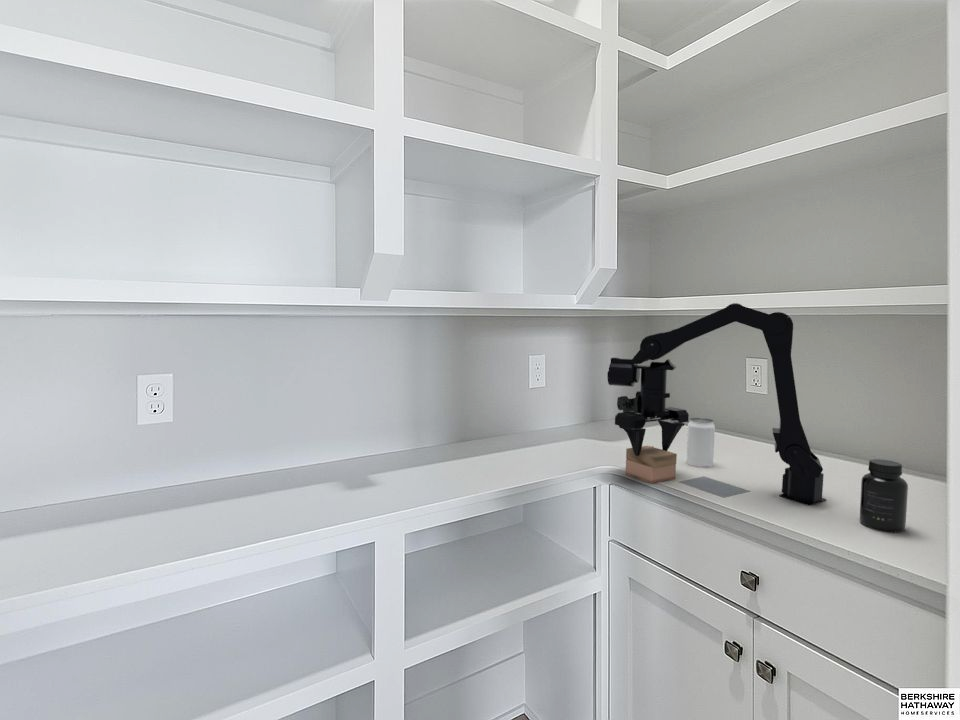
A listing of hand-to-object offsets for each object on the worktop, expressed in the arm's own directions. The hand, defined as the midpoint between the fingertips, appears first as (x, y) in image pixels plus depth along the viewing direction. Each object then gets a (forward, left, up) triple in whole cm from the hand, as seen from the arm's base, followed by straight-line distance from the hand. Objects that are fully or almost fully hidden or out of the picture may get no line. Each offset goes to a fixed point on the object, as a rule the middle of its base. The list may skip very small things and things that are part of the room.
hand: (651, 453), depth 125 cm
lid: (0, 0, -2) cm, 2 cm away
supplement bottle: (-41, -16, -6) cm, 44 cm away
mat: (-12, -7, -6) cm, 15 cm away
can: (+2, -20, -6) cm, 21 cm away
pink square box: (0, 0, -6) cm, 6 cm away
